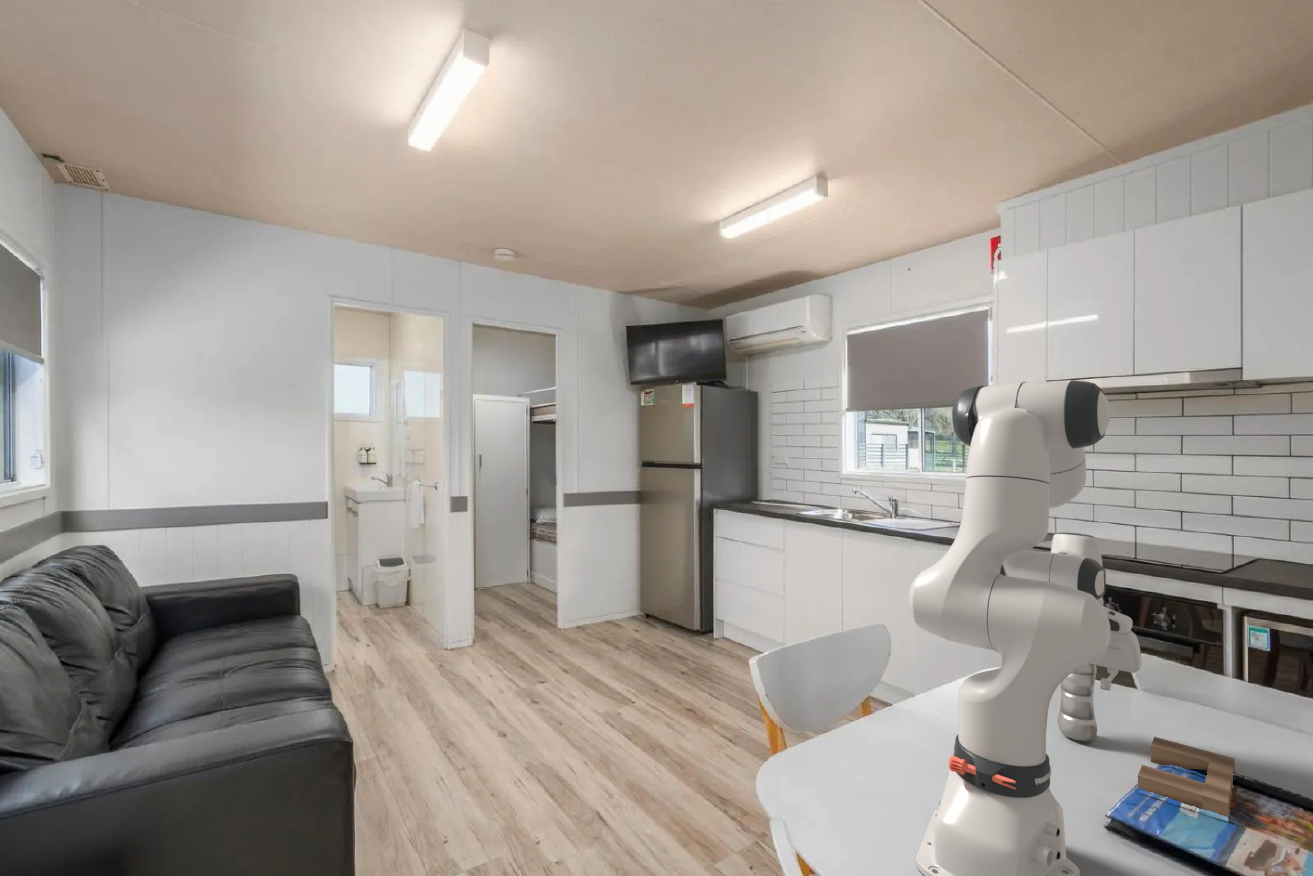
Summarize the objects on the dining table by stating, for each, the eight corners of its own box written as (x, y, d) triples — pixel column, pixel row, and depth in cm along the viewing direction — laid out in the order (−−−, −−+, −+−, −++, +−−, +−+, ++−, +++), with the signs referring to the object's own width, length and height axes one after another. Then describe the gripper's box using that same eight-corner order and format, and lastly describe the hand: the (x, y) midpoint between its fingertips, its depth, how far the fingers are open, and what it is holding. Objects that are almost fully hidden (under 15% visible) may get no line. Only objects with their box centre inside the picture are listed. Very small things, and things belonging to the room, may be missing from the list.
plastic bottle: (1084, 731, 122) (1083, 633, 123) (1105, 747, 116) (1104, 643, 116) (1050, 729, 123) (1050, 632, 123) (1070, 745, 116) (1069, 642, 117)
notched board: (1228, 823, 92) (1228, 803, 92) (1137, 793, 100) (1137, 775, 100) (1234, 775, 106) (1234, 758, 106) (1154, 752, 114) (1154, 736, 114)
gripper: (1013, 606, 125) (1013, 672, 125) (1137, 627, 110) (1138, 702, 110) (1022, 601, 130) (1022, 665, 129) (1142, 620, 115) (1143, 692, 114)
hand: (1076, 682), depth 120 cm, fingers open, 8 cm apart
